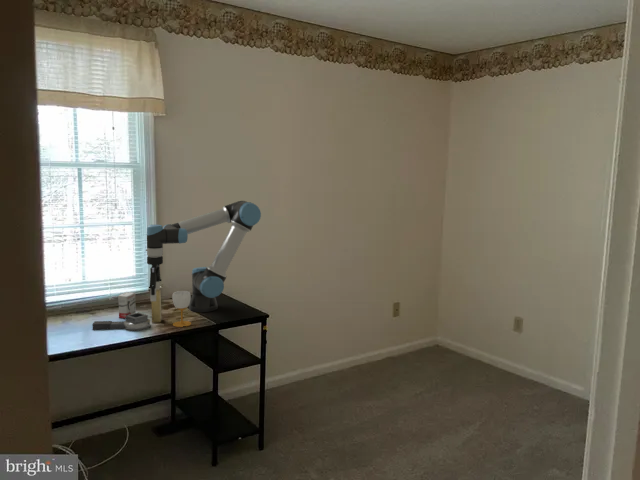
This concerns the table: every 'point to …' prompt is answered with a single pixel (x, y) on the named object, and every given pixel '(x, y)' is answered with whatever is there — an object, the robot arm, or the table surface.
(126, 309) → the ink box
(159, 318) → the gold square rod
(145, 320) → the ratchet
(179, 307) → the cup
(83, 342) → the table surface
